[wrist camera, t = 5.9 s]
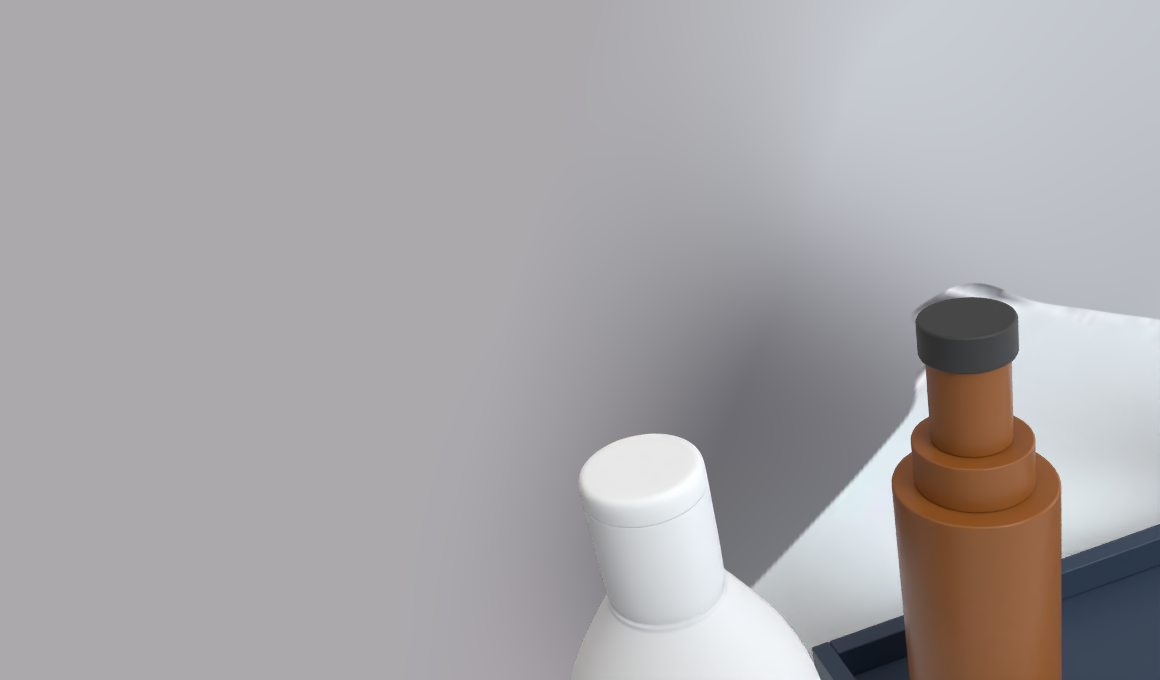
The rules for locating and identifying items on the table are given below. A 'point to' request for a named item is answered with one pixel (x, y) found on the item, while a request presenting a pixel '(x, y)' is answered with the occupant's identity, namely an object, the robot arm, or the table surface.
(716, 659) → the bath foam
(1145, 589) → the tray
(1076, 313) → the table surface
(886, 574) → the table surface
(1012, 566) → the amber bottle
